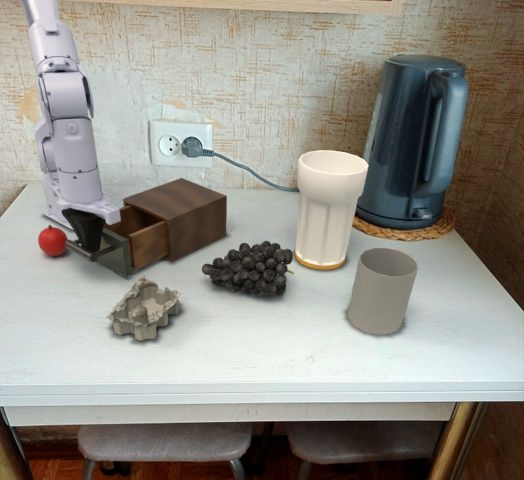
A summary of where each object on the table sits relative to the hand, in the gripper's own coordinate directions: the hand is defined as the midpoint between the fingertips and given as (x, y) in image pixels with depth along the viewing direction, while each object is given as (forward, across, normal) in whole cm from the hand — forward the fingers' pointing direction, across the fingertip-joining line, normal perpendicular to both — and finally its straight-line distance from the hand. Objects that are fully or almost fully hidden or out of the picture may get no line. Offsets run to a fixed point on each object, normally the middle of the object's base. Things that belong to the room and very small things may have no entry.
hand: (92, 251), depth 81 cm
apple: (+2, -10, 0) cm, 11 cm away
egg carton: (+5, +16, -2) cm, 16 cm away
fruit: (+5, +20, +14) cm, 26 cm away
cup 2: (+5, +40, +22) cm, 46 cm away
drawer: (+4, 0, +6) cm, 7 cm away
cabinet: (+4, 0, +18) cm, 19 cm away
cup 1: (+5, +24, +32) cm, 40 cm away
